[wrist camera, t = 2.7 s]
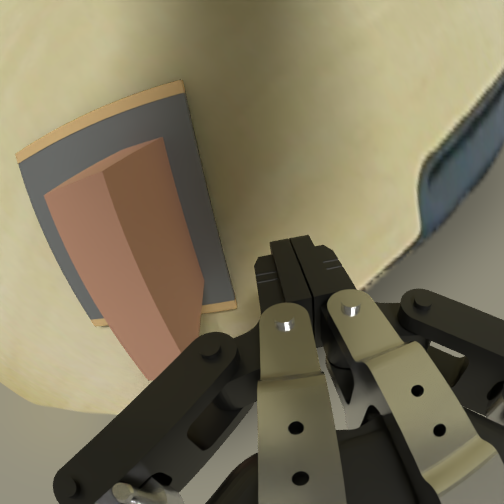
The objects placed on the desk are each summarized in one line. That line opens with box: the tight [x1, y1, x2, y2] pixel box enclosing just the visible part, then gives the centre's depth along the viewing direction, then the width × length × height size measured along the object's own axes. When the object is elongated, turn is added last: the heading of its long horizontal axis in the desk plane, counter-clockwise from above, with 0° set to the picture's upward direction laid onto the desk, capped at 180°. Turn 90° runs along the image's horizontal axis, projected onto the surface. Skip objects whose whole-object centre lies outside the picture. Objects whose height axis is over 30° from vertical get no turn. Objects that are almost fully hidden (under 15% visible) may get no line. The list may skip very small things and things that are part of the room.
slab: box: [44, 137, 204, 380], centre depth 13 cm, size 10×3×8 cm, turn 10°
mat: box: [15, 80, 237, 326], centre depth 17 cm, size 16×13×1 cm
